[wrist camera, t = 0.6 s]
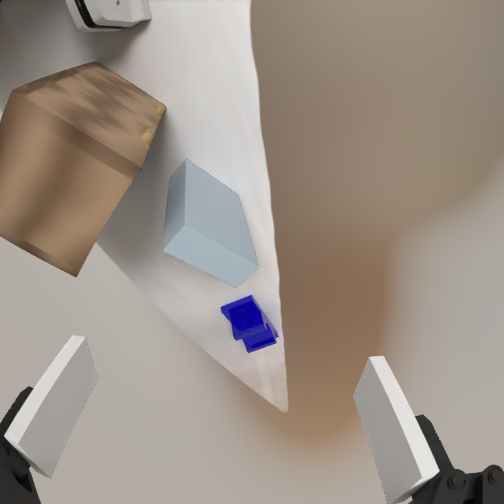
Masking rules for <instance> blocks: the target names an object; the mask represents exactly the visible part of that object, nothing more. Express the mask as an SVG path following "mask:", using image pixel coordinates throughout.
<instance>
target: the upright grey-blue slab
mask: <svg viewBox="0 0 504 504" xmlns="http://www.w3.org/2000/svg"><path fill="white" fill-rule="evenodd" d="M163 252H165V253H167V254H169V255H171V256H173V257H175V258H177V259H179V260H181V261H183V262H185V263H187V264H189V265H191V266H193V267H195V268H197V269H199V270H201V271H203V272H205V273H207V274H209V275H211V276H213V277H215V278H217V279H219V280H221V281H223V282H225V283H227V284H229V285H231V286H233V287H235V288H236V287H237V286H238V285H239V284H241V283H242V282H243V281H244V280H245V279H246V278H248V277H249V276H250V275H251V274H252V273H253V272H254V271H256V270H257V269H258V268H259V264H258V261H257V257H256V254H255V250H254V247H253V243H252V240H251V236H250V233H249V229H248V226H247V222H246V219H245V215H244V212H243V208H242V205H241V201H240V198H239V194H237V193H236V192H234V191H233V190H231V189H230V188H229V187H227V186H226V185H224V184H223V183H221V182H220V181H219V180H217V179H216V178H214V177H213V176H211V175H210V174H208V173H207V172H206V171H204V170H203V169H201V168H200V167H198V166H197V165H195V164H194V163H192V162H191V161H189V160H188V159H186V160H185V161H184V162H183V163H182V164H181V166H180V167H179V168H178V169H177V171H176V172H175V173H174V174H173V176H172V177H171V178H170V182H169V190H168V198H167V207H166V217H165V227H164V238H163Z"/></svg>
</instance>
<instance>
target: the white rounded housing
mask: <svg viewBox="0 0 504 504" xmlns="http://www.w3.org/2000/svg"><path fill="white" fill-rule="evenodd" d="M65 1H66V4H67V7H68V10H69V12H70V15H71V17H72V19H73V21H74V23H75V25H76V27H77V29H78V30H79V31H81V32H116V31H122V29H121V28H123V27H132V26H133V25H135V24H137V23H139V22H141V21H144V20H149V19H151V13H150V8H149V2H148V0H65Z"/></svg>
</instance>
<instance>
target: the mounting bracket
mask: <svg viewBox="0 0 504 504" xmlns="http://www.w3.org/2000/svg"><path fill="white" fill-rule="evenodd" d="M221 311H222V313H223V314H224V315H225V316H226V318H227V319H228V320H229V321H230V322H231V324H232V330H233V336H234V339H235V340H236V341H237V340H239V339H243V341H244V344H245V346H246V350H247V352H248V353H250V352H253V351H256V350H259V349H262V348H264V347H267V346H270V345H273V344H275V343H277V341H276V338H277V337H279V336H278V332H277V331H276V329H275V328H274V326H273V325H272V324H271V322H270V321H269V319H268V318H267V316H266V315H265V314H264V312H263V311H262V309H261V308H260V306H259V305H258V304H257V302H256V301H255V299H254V298H253V296H252V295H250V296H248V297H245V298H243V299H240V300H237V301H235V302H232V303H230V304H227V305H225V306H222V307H221Z"/></svg>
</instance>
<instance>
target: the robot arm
mask: <svg viewBox="0 0 504 504" xmlns="http://www.w3.org/2000/svg"><path fill="white" fill-rule="evenodd" d="M0 1H1V0H0ZM98 379H99V377H98V374H97V372H96V369H95V366H94V363H93V360H92V357H91V354H90V350H89V347H88V344H87V341H86V337H82V336H77V335H72V337H71V338H70V339H69V340H68V342H67V343H66V344H65V346H64V347H63V348H62V350H61V351H60V353H59V354H58V355H57V356H56V358H55V359H54V361H53V362H52V363H51V365H50V366H49V368H48V369H47V370H46V372H45V373H44V375H43V376H42V377H41V379H40V380H39V382H38V383H37V385H36V386H35V388H32V387H27V388H26V389H25V390H23V391H22V392H21V393H20V394H19V396H18V397H17V399H16V400H15V402H14V403H13V404H12V406H11V409H9V411H8V412H7V414H6V415H5V417H4V418H3V420H2V422H1V423H0V504H41V502H40V500H39V497H38V494H37V491H36V488H35V485H34V482H33V478H32V475H31V473H30V471H29V468H30V466H32V467H33V468H34V469H35V470H36V471H37V472H38V473H40V474H42V475H44V476H46V477H48V478H50V479H51V477H52V475H53V472H54V470H55V467H56V465H57V463H58V461H59V458H60V456H61V454H62V452H63V449H64V447H65V445H66V443H67V441H68V439H69V436H70V434H71V432H72V430H73V428H74V426H75V424H76V422H77V420H78V418H79V416H80V414H81V412H82V410H83V408H84V406H85V404H86V402H87V400H88V398H89V396H90V394H91V392H92V390H93V388H94V386H95V385H96V383H97V381H98ZM353 398H354V401H355V404H356V406H357V409H358V412H359V415H360V418H361V421H362V424H363V427H364V430H365V433H366V436H367V439H368V442H369V445H370V448H371V451H372V454H373V458H374V461H375V464H376V467H377V470H378V474H379V477H380V480H381V484H382V487H383V490H384V494H385V497H386V501H387V504H396V503H400V502H403V501H405V500H406V499H408V497H410V496H412V499H413V500H412V501H411V502H410V503H409V504H504V471H503V470H502V468H501V467H499V466H498V465H490V466H488V467H487V468H486V469H485V470H484V471H482V472H478V473H469V474H465V473H464V472H463V471H461V470H459V469H454V468H453V466H452V464H451V462H450V460H449V458H448V456H447V454H446V451H445V450H444V448H443V445H442V443H441V441H440V440H439V437H438V435H437V433H435V429H434V427H433V425H432V423H431V422H430V421H429V420H428V419H427V418H426V417H425V416H424V415H419V416H414V414H413V412H412V410H411V408H410V406H409V404H408V402H407V400H406V398H405V396H404V394H403V392H402V390H401V388H400V386H399V385H398V383H397V381H396V379H395V377H394V375H393V373H392V371H391V369H390V367H389V366H388V364H387V362H386V360H385V358H384V356H376V357H369V359H368V361H367V364H366V366H365V369H364V371H363V374H362V376H361V379H360V381H359V383H358V386H357V388H356V390H355V393H354V395H353Z"/></svg>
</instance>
